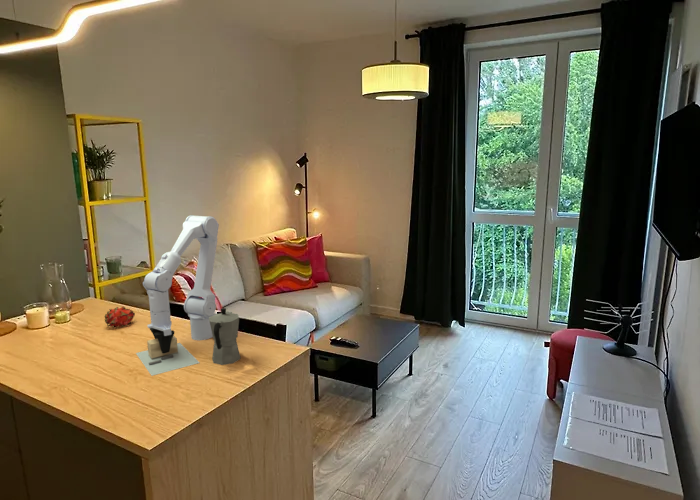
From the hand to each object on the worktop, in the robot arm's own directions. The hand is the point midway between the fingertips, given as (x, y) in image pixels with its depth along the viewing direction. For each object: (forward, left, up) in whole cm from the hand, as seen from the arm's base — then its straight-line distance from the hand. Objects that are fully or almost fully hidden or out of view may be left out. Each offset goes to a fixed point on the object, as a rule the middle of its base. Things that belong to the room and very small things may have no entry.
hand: (163, 350), depth 145 cm
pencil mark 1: (+4, +5, -1) cm, 7 cm away
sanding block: (0, 0, -1) cm, 1 cm away
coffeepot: (-14, +16, -3) cm, 22 cm away
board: (0, +3, -3) cm, 4 cm away
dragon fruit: (+5, -42, -3) cm, 42 cm away
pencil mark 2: (0, +4, -1) cm, 4 cm away
